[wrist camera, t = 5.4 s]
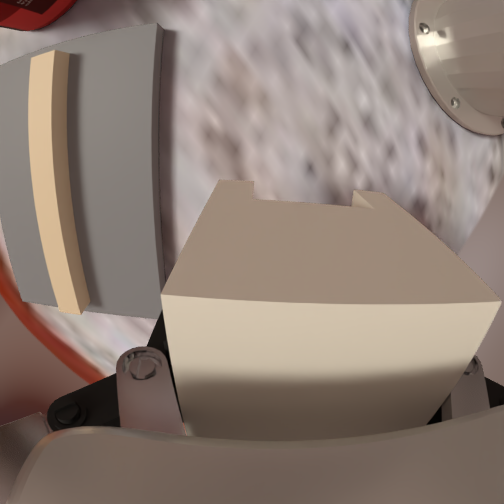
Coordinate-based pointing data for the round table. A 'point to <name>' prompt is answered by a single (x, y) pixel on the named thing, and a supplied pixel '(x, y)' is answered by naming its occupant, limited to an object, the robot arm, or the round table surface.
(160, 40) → the mount board
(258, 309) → the cabinet block
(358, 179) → the round table surface
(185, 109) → the round table surface
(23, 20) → the canned food
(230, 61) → the round table surface
